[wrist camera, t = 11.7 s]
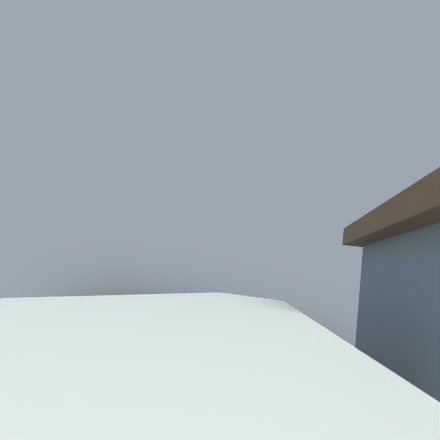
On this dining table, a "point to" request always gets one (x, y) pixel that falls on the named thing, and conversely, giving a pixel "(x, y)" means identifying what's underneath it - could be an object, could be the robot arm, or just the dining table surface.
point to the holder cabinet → (402, 283)
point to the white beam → (193, 373)
